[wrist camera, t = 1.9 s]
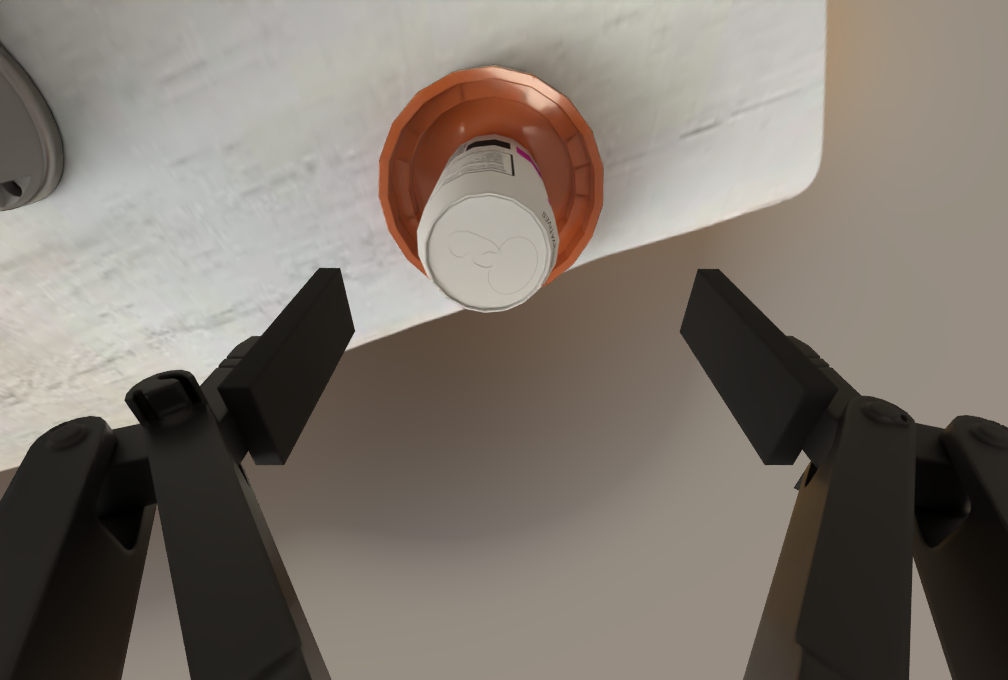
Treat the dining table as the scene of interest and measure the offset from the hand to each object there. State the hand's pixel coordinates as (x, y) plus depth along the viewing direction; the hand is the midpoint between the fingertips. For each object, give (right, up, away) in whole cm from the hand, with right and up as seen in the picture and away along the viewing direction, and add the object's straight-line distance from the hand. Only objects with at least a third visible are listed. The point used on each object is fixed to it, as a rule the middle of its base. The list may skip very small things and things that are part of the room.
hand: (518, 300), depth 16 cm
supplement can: (-1, +12, +20) cm, 23 cm away
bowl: (-1, +12, +20) cm, 23 cm away
